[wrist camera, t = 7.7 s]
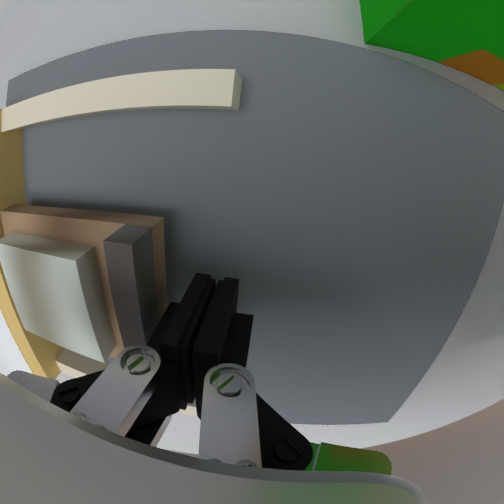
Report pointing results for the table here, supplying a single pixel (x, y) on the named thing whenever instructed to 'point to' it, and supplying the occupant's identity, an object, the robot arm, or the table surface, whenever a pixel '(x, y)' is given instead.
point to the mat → (274, 198)
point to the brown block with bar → (85, 276)
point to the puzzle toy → (442, 32)
